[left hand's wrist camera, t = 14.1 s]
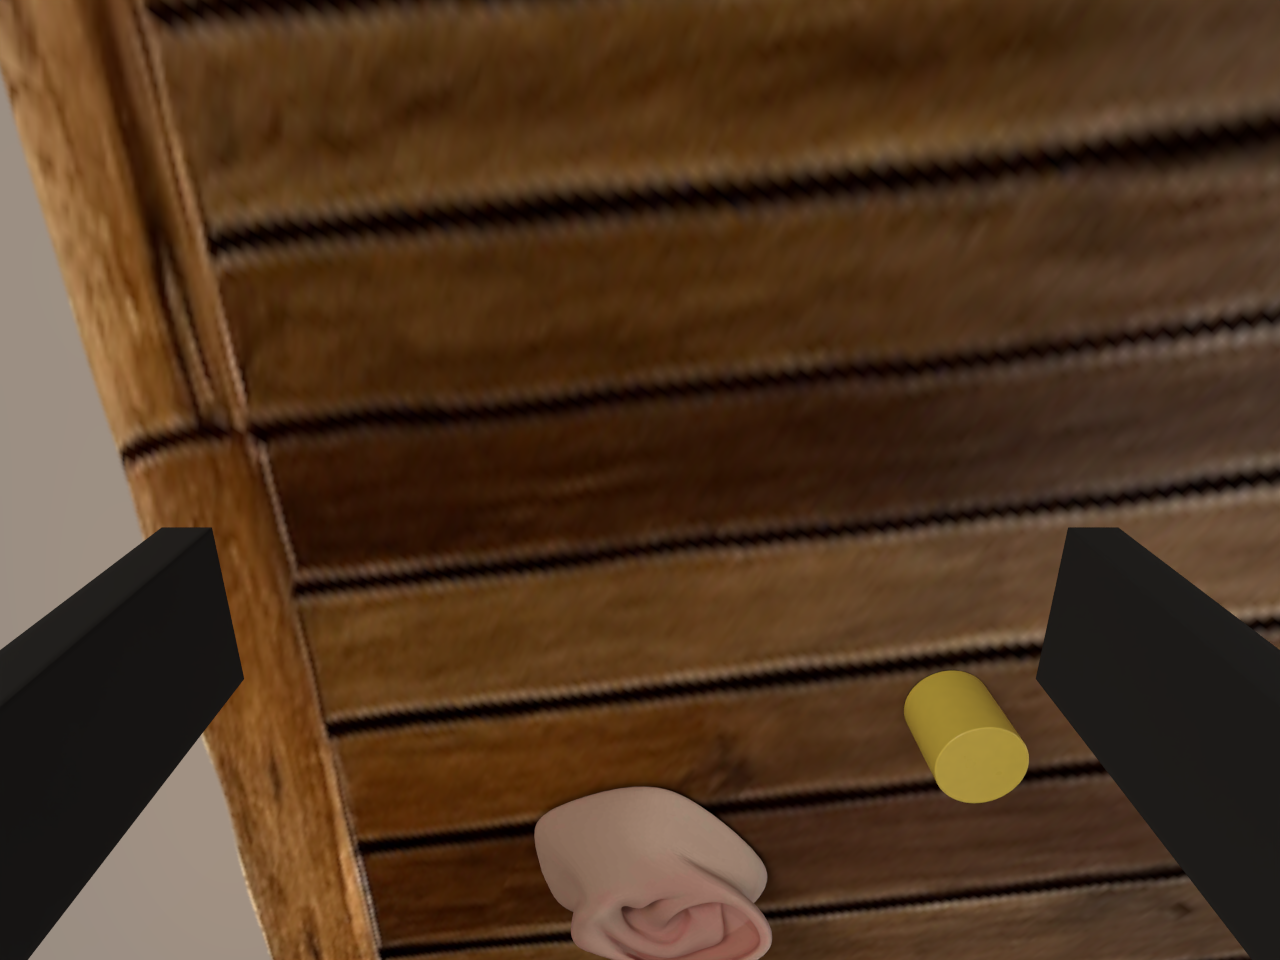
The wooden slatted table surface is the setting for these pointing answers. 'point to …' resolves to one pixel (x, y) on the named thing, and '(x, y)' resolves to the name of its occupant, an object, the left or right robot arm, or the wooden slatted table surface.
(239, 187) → the wooden slatted table surface
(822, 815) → the wooden slatted table surface
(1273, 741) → the left robot arm
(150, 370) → the wooden slatted table surface
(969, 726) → the canister
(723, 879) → the anatomical model
